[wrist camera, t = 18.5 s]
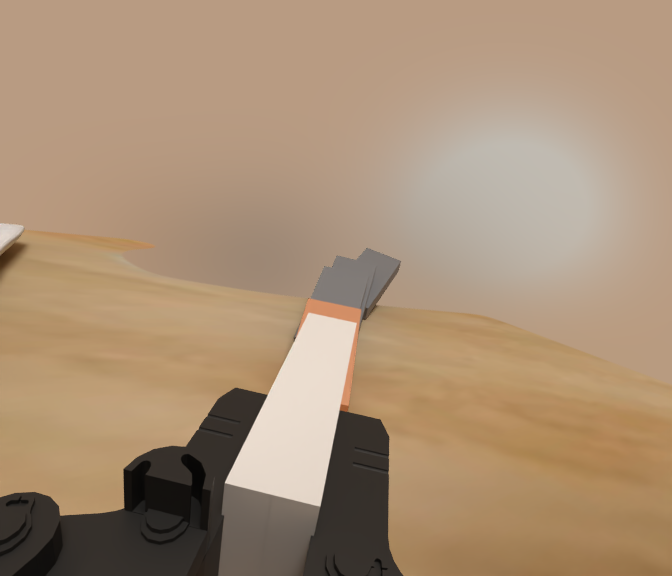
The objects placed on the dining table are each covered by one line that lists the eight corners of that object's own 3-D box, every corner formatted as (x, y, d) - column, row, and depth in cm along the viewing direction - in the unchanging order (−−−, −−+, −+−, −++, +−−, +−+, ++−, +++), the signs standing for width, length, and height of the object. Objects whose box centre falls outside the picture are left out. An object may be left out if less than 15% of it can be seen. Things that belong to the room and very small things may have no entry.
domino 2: (344, 421, 29) (357, 323, 38) (348, 405, 28) (361, 309, 37) (277, 406, 29) (306, 313, 38) (278, 390, 28) (308, 298, 37)
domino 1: (345, 363, 37) (365, 289, 45) (348, 350, 35) (368, 276, 44) (293, 349, 37) (322, 278, 45) (294, 336, 36) (324, 266, 44)
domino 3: (356, 339, 41) (374, 276, 50) (359, 327, 40) (376, 265, 48) (310, 327, 42) (335, 267, 50) (311, 315, 41) (336, 255, 49)
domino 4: (365, 319, 46) (398, 271, 54) (368, 308, 45) (401, 261, 53) (327, 302, 48) (364, 258, 56) (329, 291, 47) (366, 247, 54)
